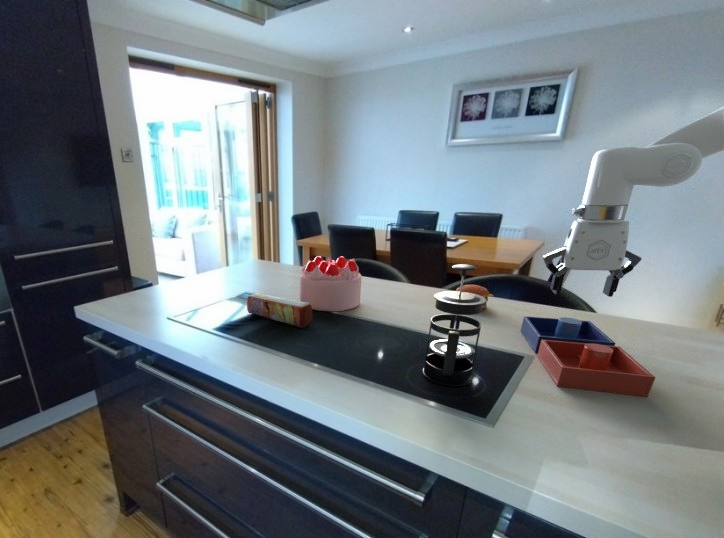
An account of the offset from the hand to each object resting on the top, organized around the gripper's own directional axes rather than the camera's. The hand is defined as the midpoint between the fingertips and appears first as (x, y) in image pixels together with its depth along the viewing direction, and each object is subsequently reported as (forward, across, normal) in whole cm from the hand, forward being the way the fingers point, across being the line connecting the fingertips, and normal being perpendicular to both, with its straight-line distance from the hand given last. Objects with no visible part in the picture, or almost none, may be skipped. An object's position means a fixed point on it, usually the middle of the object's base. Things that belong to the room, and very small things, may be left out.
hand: (581, 293), depth 87 cm
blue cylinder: (+12, -1, +2) cm, 13 cm away
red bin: (+13, -1, -14) cm, 19 cm away
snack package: (+12, -72, +1) cm, 73 cm away
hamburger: (+13, -18, +28) cm, 35 cm away
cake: (+12, -61, +21) cm, 65 cm away
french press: (+13, -28, -23) cm, 38 cm away
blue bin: (+13, -1, +2) cm, 13 cm away
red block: (+12, -1, -14) cm, 19 cm away
